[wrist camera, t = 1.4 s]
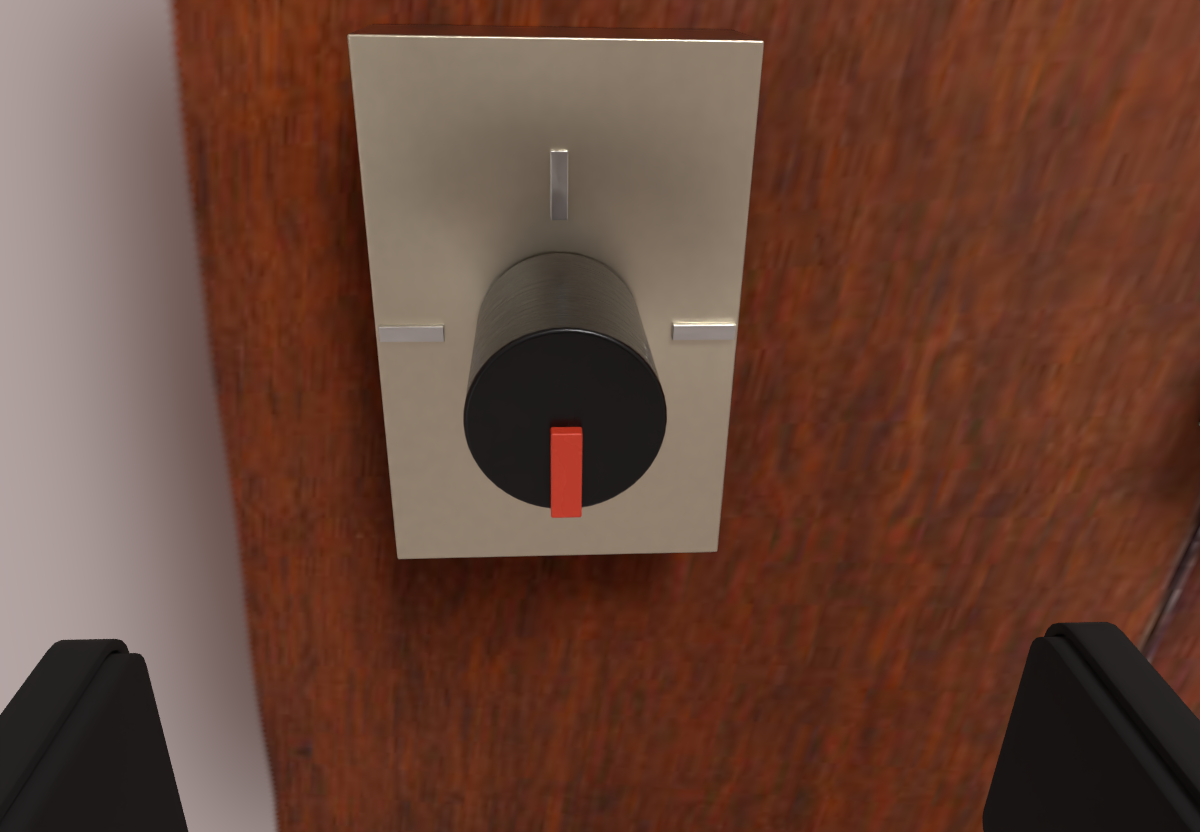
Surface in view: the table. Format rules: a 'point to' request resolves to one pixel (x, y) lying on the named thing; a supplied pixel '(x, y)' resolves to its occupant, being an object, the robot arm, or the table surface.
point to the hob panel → (553, 251)
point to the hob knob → (562, 386)
